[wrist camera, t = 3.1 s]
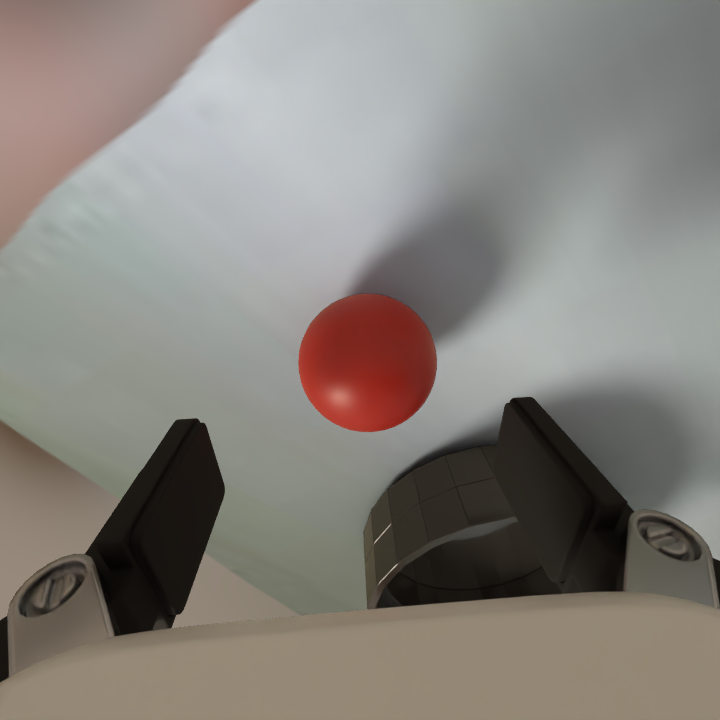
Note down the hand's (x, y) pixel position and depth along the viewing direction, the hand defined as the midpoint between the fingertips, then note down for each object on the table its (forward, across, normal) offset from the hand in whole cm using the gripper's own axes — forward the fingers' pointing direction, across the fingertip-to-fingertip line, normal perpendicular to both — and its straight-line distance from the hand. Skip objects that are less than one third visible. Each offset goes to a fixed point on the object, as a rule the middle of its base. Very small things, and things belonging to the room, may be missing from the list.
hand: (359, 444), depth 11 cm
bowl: (+8, -9, +16) cm, 20 cm away
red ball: (+5, -1, 0) cm, 5 cm away
